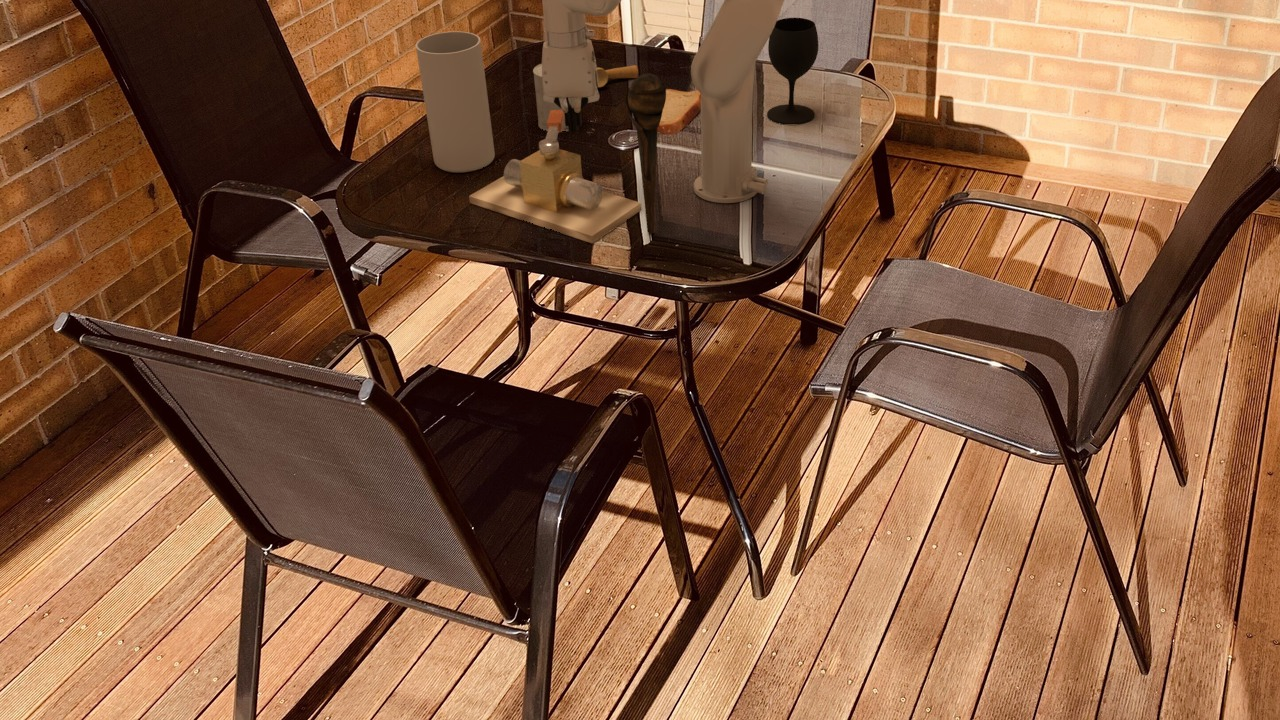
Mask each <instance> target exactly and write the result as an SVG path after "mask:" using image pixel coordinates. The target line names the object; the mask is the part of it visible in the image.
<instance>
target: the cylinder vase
mask: <svg viewBox="0 0 1280 720" xmlns="http://www.w3.org/2000/svg"><path fill="white" fill-rule="evenodd" d="M415 48H416V49H415V50H416V56H417V62H418V63H417V64H418V68H419V69H418V70H419V74H420V75H419V76H420V82H421V88H422V94H423V99H424V100H423V101H424V106H425V113H426V119H427V120H426V121H427V124H428V133H429V139H430V144H431V149H432V157H433V158H432V159H433V162H434V165H435V166H436V167H437V168H439V169H440V170H443V171H444V172H448V173H459V174H460V173H461V174H462V173H469V172H474V171H478V170H480V169H483V167H484V168H485V167H488V166H489V165H490V164H491V163H492V162H493V161H494V159H495V157H496V156H495V155H496V153H495V147H494V146H495V144H494V139H493V138H494V137H493V129H492V121H491V113H490V112H491V111H490V106H489V105H490V104H489V97H488V89H487V80H486V73H485V65H484V57H483V50H482V49H483V48H482V41H481V38H480V36H479V35H478V34H476V33H472V32H468V31H458V30H457V31H455V30H454V31H444V32H443V31H442V32H438V33H433V34H429V35H427V36H425V37H422V38H420V39H419V40H418V41H417V42H415Z"/></svg>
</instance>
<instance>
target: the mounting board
mask: <svg viewBox="0 0 1280 720" xmlns="http://www.w3.org/2000/svg"><path fill="white" fill-rule="evenodd" d="M468 199H469V203H470V204H472V205H475V206H478V207H481V208H484V209H487V210H490V211H493V212H496V213H498V214H502V215H505V216H508V217H511V218H515V219H517V220H520V221H523V220H524V221H523V222H526V221H527V222H526V223H529V222H530V223H529V224H532V223H533V224H532V225H536V226H538V227H541V228H544V227H545V229H547V230H550V229H552V230H551V231H553V230H554V232H556V231H557V233H559V232H560V233H559V234H563V235H566V236H569V237H572V238H574V239H578V240H580V241H583V242H587V243H590V244H594V243H595V242H597V241H598V240H600V239H601V238H603V237H605V234H606V235H607V234H609V233H610V232H611V231H613V230H614V229H616V228H617V227H619V226H620V225H622V224H623V223H625V222H627V221H628V220H629V219H630V218H632V217H634V216H635V215H637V214H638V213H639V212H641V211H642V202H640V201H637V200H633V199H629V198H626V197H623V196H619V195H616V194H613V193H610V192H606V191H603V196H602V200H601V203H600V204H599V206H598V207H597V208H596V209H594V210H589V209H586V208H583V207H580V206H575V207H566V208H564V209H563V210H561V211H559V212H558V213H555V212H552V211H549V210H546V209H543V208H539V207H536V206H533V205H530V204H527V203H524V196H523V190H522V188H519V187H515V186H512V185H509V184H507V183H506V182H505V180H504V175H503V176H501V177H499V178H497V179H496V180H494V181H492V182H491V183H489V184H487V185H486V186H484V187H482V188H481V189H479V190H476V191H475V192H473V193H472V194H470V195H469V196H468ZM627 219H628V220H627ZM624 221H625V222H624ZM621 223H622V224H621ZM619 224H620V225H619ZM618 225H619V226H618ZM615 227H616V228H615ZM613 228H614V229H613ZM612 229H613V230H612ZM610 230H611V231H610ZM609 231H610V232H609ZM608 232H609V233H608Z"/></svg>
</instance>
